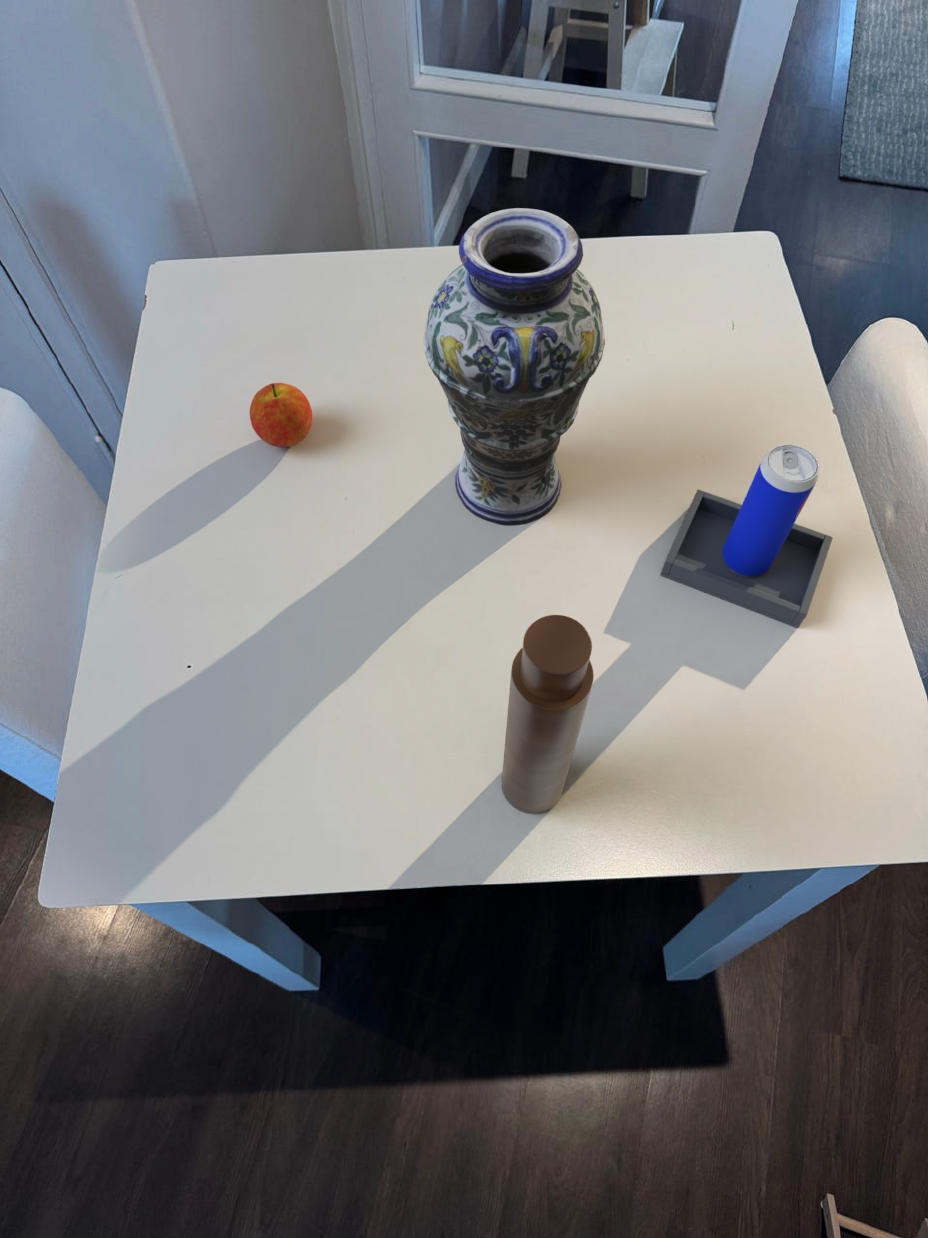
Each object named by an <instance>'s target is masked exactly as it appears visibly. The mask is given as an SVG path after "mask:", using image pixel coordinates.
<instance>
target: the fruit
mask: <svg viewBox="0 0 928 1238" xmlns="http://www.w3.org/2000/svg"><path fill="white" fill-rule="evenodd" d="M249 420H250V424H251V426H252V429H253V430H254V433H255V434H256V435H257V436H258V437H259V438H260V439H261V440H262V441H263V442H265V443H266V444H268V445H269V446H273V447H277V448H287V447H294V446H296V445H298V444H299V443H301V442H302V441H303V440H304V439H305V438H306V437H307V436H308V434H309V433H310V430H311V428H312V425H313V410H312V406H311V404H310V401H309V399H308V398H307V396H306V395H305V393H304V392H303V391H301V389H299V388H298V387H296V386H294V385H292V384H289V383H284V382H273V383H272V382H271V383H269V384H267V385H265V386H264V387H262V388H260V390H258V391H257V392H256V393H255V394H254V396H253V398H252V400H251V402H250V406H249Z"/></svg>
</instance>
